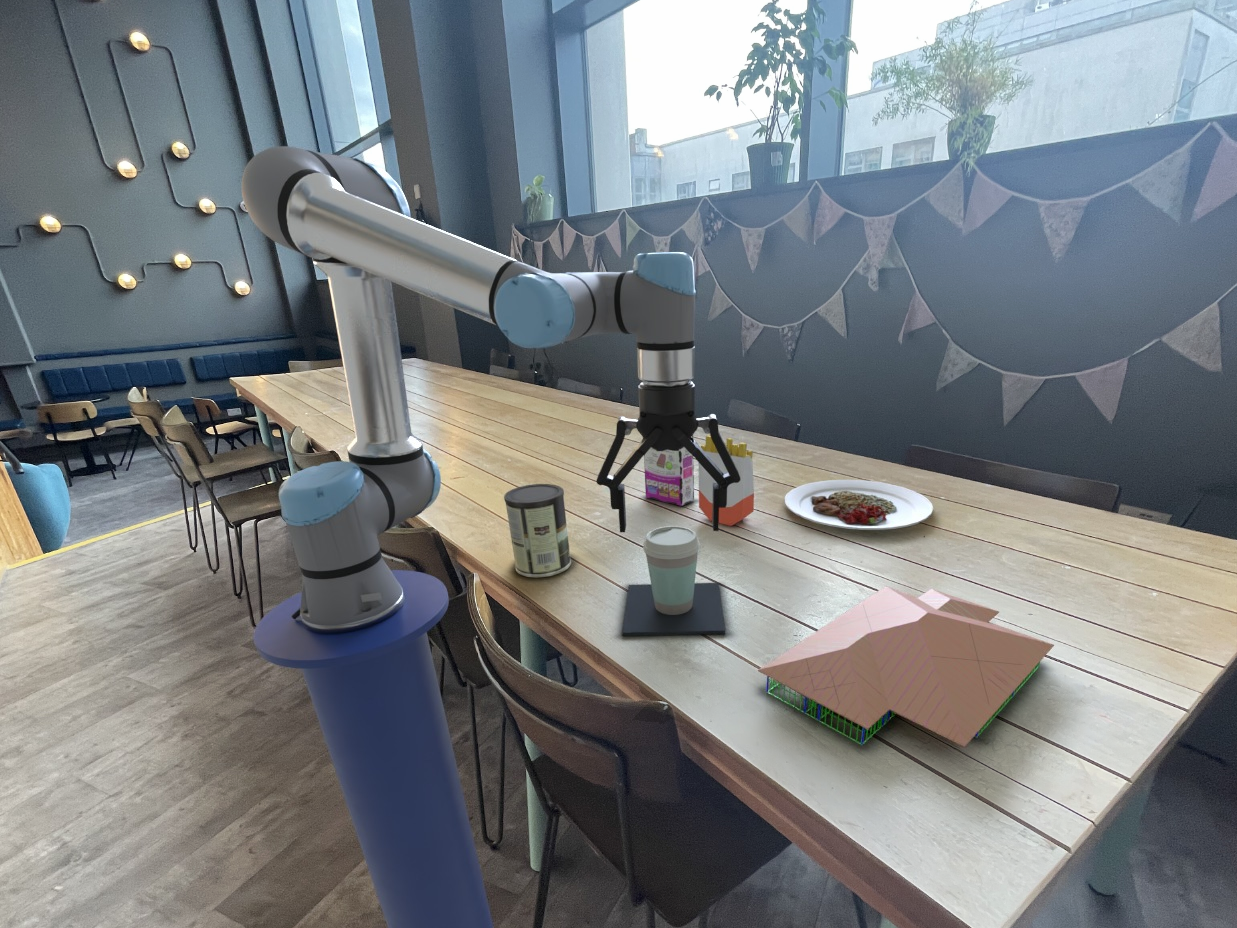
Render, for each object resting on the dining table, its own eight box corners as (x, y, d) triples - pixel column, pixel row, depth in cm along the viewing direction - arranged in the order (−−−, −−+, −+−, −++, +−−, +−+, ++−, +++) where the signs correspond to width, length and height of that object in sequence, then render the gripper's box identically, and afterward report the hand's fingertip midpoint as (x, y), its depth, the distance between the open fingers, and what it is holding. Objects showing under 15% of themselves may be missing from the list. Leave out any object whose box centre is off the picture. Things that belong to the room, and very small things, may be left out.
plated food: (867, 480, 149) (869, 466, 147) (965, 521, 123) (968, 505, 122) (759, 499, 140) (759, 485, 138) (839, 547, 114) (841, 531, 112)
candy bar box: (695, 500, 141) (694, 430, 134) (682, 507, 137) (680, 434, 130) (658, 491, 147) (655, 424, 141) (644, 497, 144) (641, 428, 137)
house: (1056, 657, 80) (1070, 603, 77) (939, 794, 60) (952, 729, 57) (892, 598, 96) (898, 551, 92) (757, 691, 76) (759, 636, 73)
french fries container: (711, 511, 134) (710, 430, 126) (754, 521, 127) (756, 436, 120) (698, 518, 131) (697, 434, 123) (742, 528, 124) (744, 441, 117)
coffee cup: (689, 588, 100) (687, 521, 95) (709, 613, 93) (709, 541, 88) (639, 598, 98) (635, 529, 93) (656, 624, 91) (652, 551, 86)
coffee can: (549, 549, 119) (541, 479, 113) (582, 564, 112) (575, 491, 106) (503, 566, 112) (492, 494, 107) (535, 583, 106) (525, 507, 100)
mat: (622, 636, 89) (621, 632, 89) (629, 587, 103) (629, 584, 103) (725, 634, 89) (725, 630, 88) (718, 585, 102) (718, 582, 102)
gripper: (757, 374, 84) (751, 517, 93) (577, 378, 85) (588, 519, 94) (764, 383, 77) (757, 537, 86) (568, 388, 78) (581, 539, 87)
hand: (669, 528), depth 90 cm, fingers open, 13 cm apart
